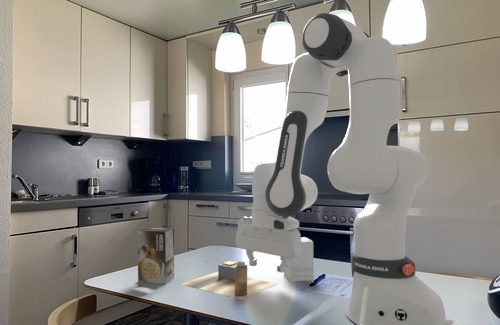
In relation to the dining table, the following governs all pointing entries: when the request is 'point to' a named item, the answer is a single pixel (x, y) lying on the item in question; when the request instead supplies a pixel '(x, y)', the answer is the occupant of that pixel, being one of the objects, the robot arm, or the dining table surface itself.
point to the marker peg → (240, 279)
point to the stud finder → (227, 270)
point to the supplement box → (301, 264)
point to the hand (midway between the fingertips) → (266, 268)
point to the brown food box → (156, 255)
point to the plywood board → (227, 285)
